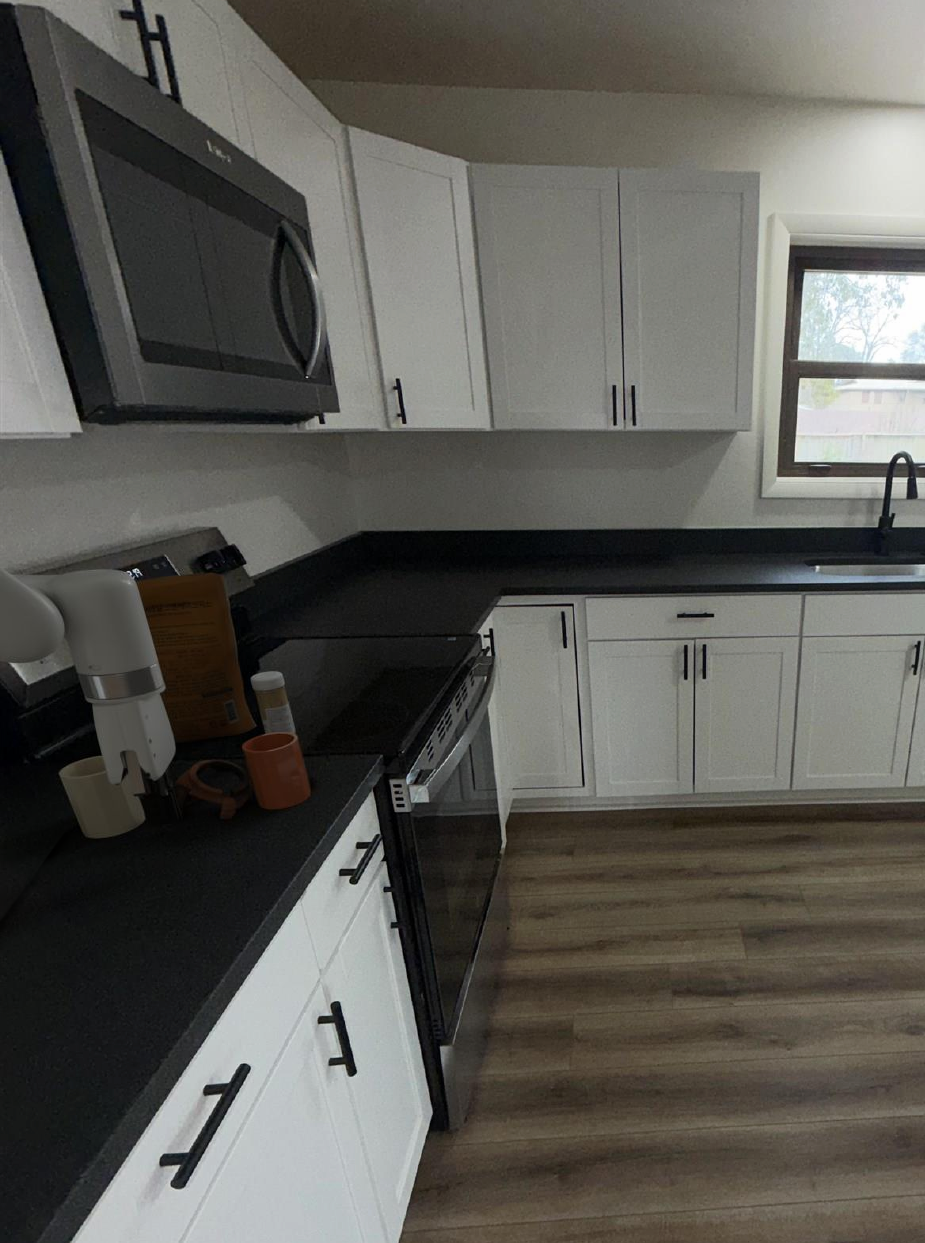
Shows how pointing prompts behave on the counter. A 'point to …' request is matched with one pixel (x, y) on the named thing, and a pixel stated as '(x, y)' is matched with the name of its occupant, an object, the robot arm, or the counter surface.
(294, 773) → the terracotta cup
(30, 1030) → the counter surface
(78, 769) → the cream cup
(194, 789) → the reddish-brown ring-shaped piece
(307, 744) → the counter surface
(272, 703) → the sprinkles bottle
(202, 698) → the pancake mix bag
